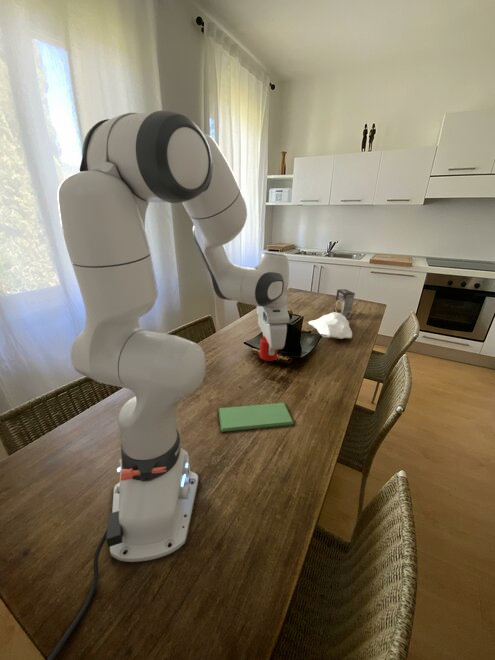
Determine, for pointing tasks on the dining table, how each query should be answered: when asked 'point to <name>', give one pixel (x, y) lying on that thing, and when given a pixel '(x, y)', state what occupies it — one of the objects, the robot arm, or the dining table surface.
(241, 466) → the dining table surface
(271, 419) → the towel
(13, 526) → the dining table surface
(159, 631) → the dining table surface
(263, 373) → the dining table surface
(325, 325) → the crumpled cloth
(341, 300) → the coffee box
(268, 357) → the pepper
